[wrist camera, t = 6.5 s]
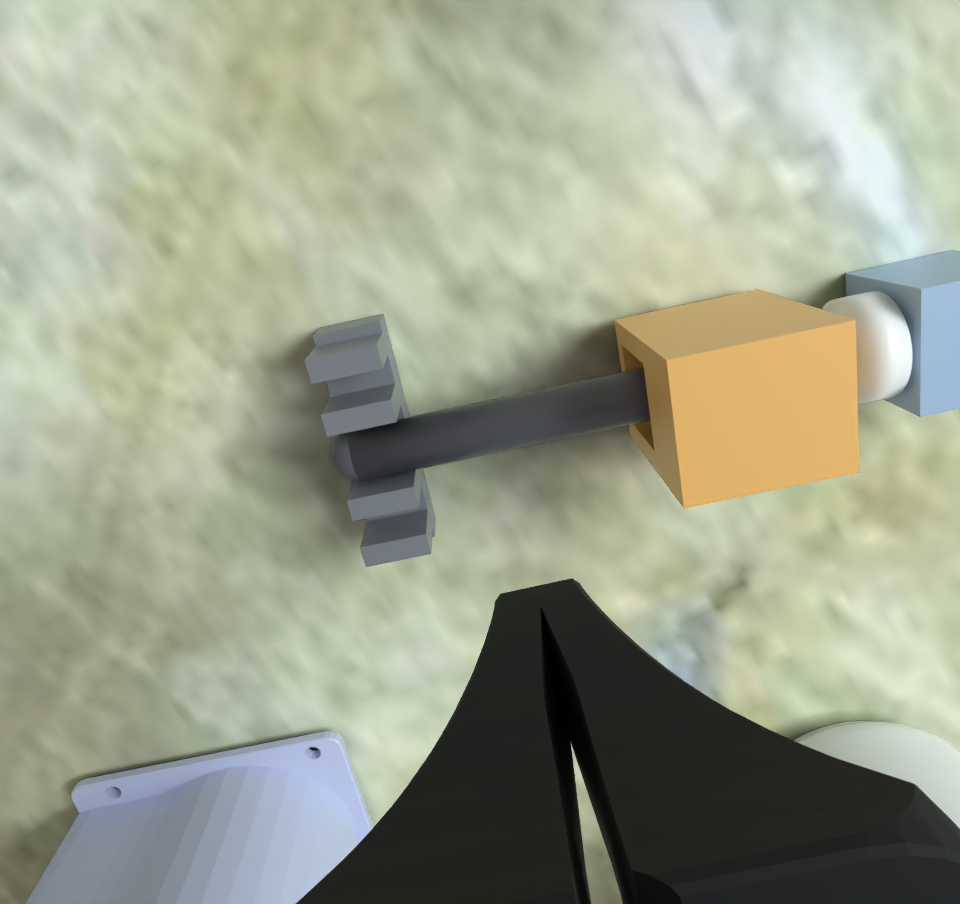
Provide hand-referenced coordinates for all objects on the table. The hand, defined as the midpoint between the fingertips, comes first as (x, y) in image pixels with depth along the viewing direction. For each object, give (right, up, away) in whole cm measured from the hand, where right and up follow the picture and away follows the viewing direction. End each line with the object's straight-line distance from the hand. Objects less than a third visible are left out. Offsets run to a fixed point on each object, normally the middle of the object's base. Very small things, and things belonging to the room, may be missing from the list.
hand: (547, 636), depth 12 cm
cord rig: (+3, +5, +9) cm, 11 cm away
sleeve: (+5, +6, +9) cm, 11 cm away
